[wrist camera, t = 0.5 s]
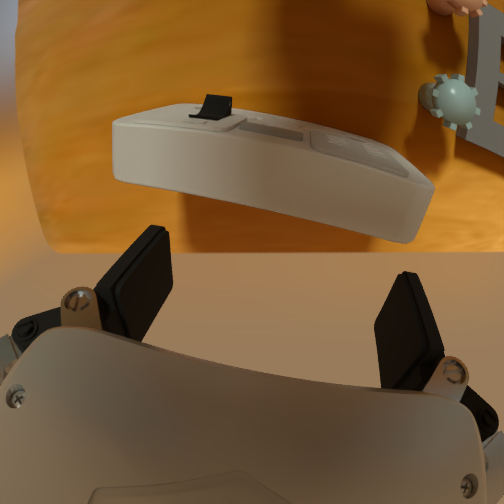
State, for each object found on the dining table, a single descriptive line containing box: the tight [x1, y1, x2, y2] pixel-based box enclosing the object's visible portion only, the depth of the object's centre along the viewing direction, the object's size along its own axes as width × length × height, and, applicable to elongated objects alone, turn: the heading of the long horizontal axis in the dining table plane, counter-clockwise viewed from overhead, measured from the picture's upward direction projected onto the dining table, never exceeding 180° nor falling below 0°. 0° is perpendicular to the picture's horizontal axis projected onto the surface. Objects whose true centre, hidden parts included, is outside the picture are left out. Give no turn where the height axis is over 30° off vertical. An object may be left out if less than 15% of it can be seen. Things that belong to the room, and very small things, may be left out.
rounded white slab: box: [112, 94, 435, 244], centre depth 28 cm, size 29×8×18 cm, turn 81°
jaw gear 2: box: [418, 74, 481, 131], centre depth 25 cm, size 7×7×8 cm
